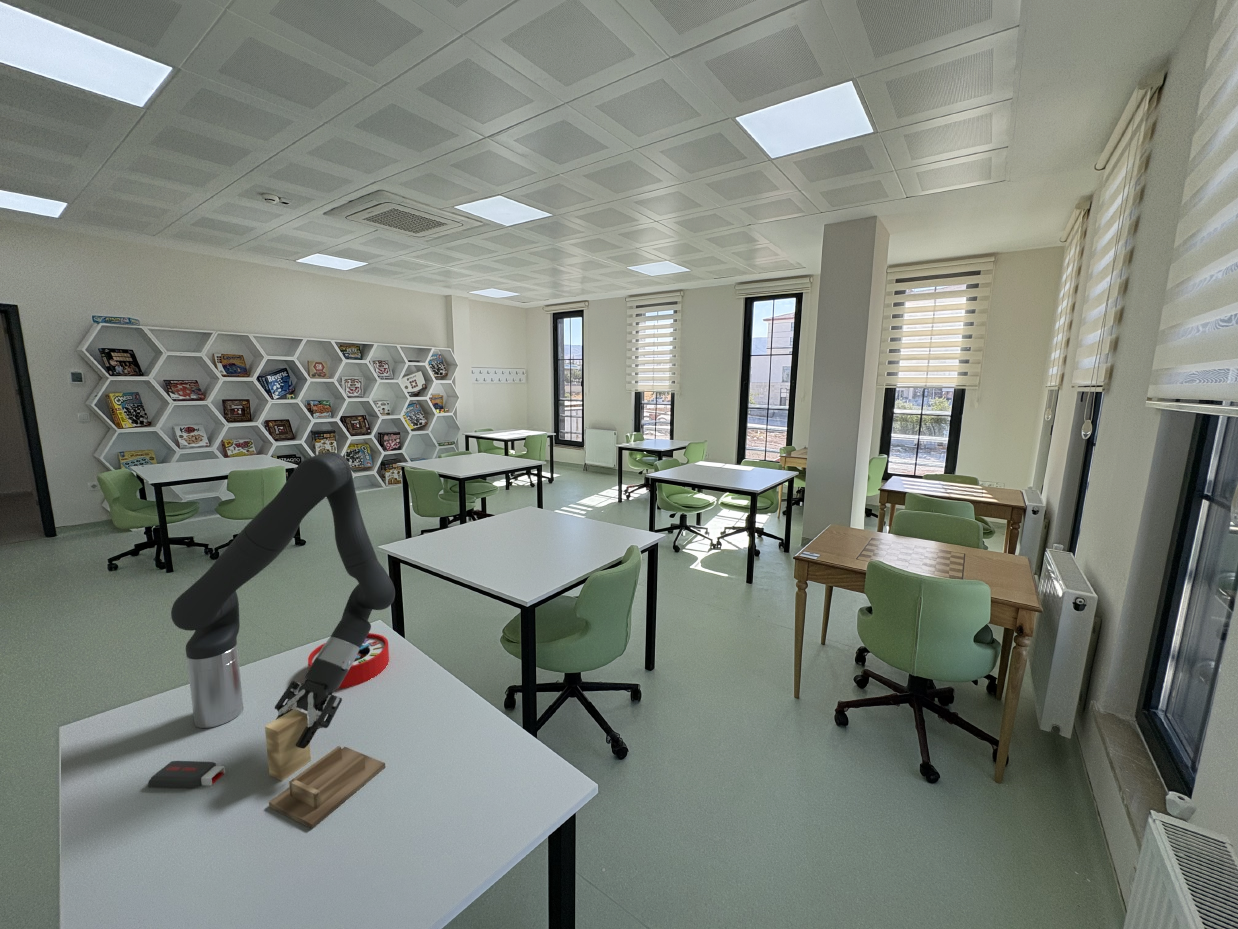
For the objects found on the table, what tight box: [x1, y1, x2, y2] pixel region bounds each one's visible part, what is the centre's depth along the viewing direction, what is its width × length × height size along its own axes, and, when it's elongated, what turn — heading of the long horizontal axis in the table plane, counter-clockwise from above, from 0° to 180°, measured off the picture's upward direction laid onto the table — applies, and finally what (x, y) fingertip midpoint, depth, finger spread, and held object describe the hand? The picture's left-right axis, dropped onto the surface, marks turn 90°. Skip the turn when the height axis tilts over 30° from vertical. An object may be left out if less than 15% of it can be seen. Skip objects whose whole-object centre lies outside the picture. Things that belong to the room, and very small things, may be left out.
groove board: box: [268, 746, 386, 830], centre depth 97 cm, size 12×16×4 cm
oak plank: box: [264, 709, 312, 782], centre depth 101 cm, size 4×6×11 cm, turn 157°
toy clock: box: [307, 632, 390, 690], centre depth 138 cm, size 20×6×20 cm
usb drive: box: [147, 760, 226, 790], centre depth 98 cm, size 5×12×3 cm, turn 89°
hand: (286, 741), depth 100 cm, fingers open, 8 cm apart
